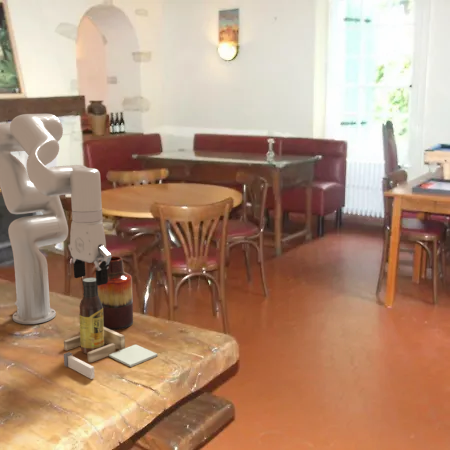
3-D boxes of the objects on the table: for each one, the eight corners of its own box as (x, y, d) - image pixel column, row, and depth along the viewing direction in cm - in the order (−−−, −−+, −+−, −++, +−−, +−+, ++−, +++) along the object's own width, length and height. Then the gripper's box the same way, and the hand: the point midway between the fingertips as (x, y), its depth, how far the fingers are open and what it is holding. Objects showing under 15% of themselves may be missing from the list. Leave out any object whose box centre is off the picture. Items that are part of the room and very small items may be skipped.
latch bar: (64, 365, 151) (63, 353, 151) (69, 363, 153) (69, 351, 152) (90, 379, 144) (89, 367, 144) (95, 377, 145) (95, 365, 145)
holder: (64, 349, 162) (63, 335, 161) (98, 337, 170) (97, 324, 169) (90, 362, 154) (89, 348, 153) (124, 349, 162) (124, 335, 161)
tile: (109, 356, 157) (108, 354, 157) (135, 346, 164) (135, 344, 164) (130, 367, 152) (130, 364, 151) (157, 356, 158) (157, 353, 158)
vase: (140, 321, 182) (138, 257, 177) (116, 333, 173) (113, 265, 168) (114, 314, 187) (111, 251, 183) (89, 325, 178) (86, 259, 174)
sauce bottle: (98, 356, 158) (95, 284, 153) (76, 354, 159) (73, 282, 154) (108, 346, 164) (105, 277, 159) (87, 344, 165) (83, 275, 161)
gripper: (55, 214, 156) (59, 277, 160) (95, 223, 145) (98, 290, 148) (80, 210, 162) (83, 271, 165) (120, 218, 150) (122, 283, 154)
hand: (90, 280), depth 157 cm, fingers open, 9 cm apart
